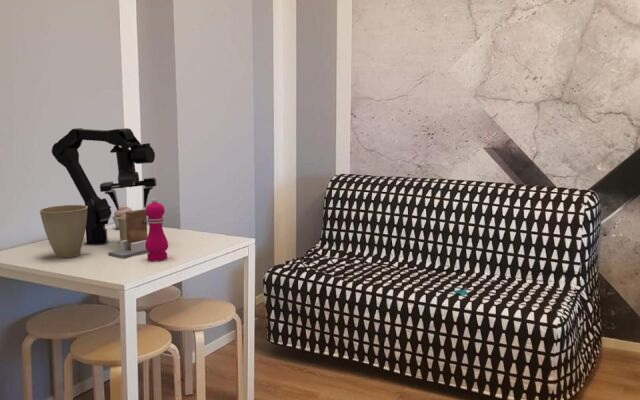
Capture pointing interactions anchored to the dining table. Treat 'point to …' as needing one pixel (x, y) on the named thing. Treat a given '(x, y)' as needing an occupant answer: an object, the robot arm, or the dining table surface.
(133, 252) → the board
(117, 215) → the cupcake
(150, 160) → the robot arm
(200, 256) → the dining table surface
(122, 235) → the candle
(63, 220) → the plant pot
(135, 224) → the door
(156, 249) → the pepper mill
